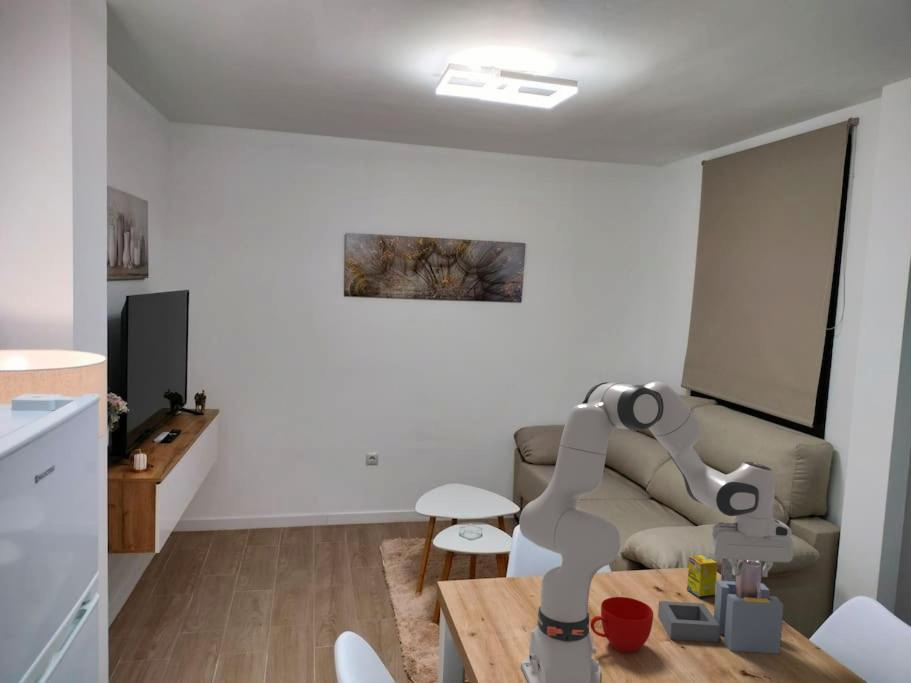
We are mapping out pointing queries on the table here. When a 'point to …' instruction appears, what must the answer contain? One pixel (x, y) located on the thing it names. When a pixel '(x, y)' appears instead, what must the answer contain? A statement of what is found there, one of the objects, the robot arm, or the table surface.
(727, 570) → the coffee box
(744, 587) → the beverage can
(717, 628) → the tray
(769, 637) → the socket
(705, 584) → the supplement box
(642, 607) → the ceramic cup
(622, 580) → the table surface
